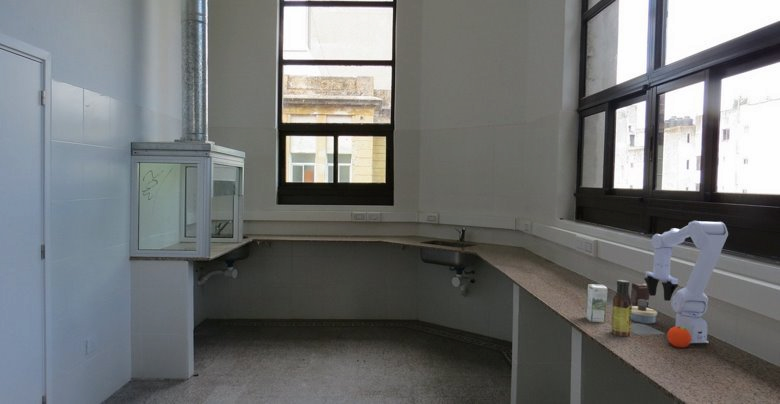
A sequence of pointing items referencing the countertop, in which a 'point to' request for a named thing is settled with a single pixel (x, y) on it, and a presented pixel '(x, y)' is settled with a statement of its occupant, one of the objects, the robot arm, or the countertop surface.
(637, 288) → the box
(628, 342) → the countertop surface
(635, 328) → the mat
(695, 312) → the robot arm
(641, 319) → the bowl
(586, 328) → the countertop surface
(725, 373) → the countertop surface
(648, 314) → the lid
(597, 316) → the syrup box
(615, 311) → the sauce bottle
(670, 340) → the clementine
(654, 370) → the countertop surface
